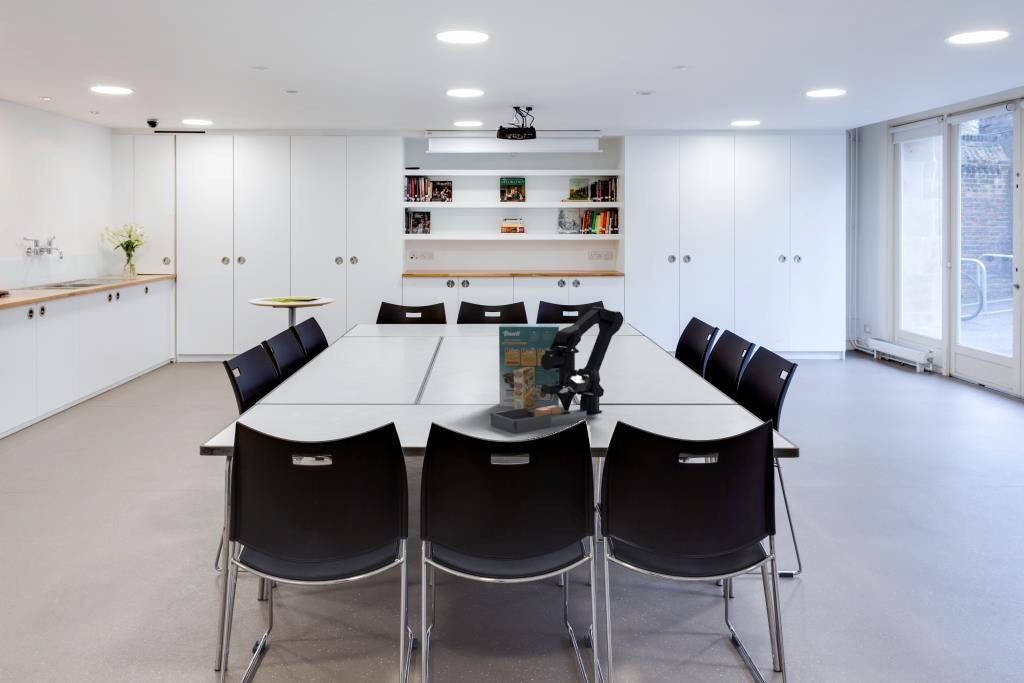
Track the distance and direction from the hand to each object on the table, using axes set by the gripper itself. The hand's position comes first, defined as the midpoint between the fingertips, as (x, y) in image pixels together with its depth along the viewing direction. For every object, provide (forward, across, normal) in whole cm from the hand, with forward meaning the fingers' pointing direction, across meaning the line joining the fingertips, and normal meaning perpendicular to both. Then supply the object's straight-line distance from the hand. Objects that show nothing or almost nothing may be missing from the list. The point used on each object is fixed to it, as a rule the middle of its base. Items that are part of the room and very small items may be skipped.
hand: (566, 410), depth 295 cm
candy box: (+3, -3, +20) cm, 20 cm away
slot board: (+3, -4, 0) cm, 5 cm away
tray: (+3, -20, 0) cm, 20 cm away
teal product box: (+3, +3, +25) cm, 25 cm away
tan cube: (+1, -10, 0) cm, 10 cm away
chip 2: (+1, -6, 0) cm, 6 cm away
